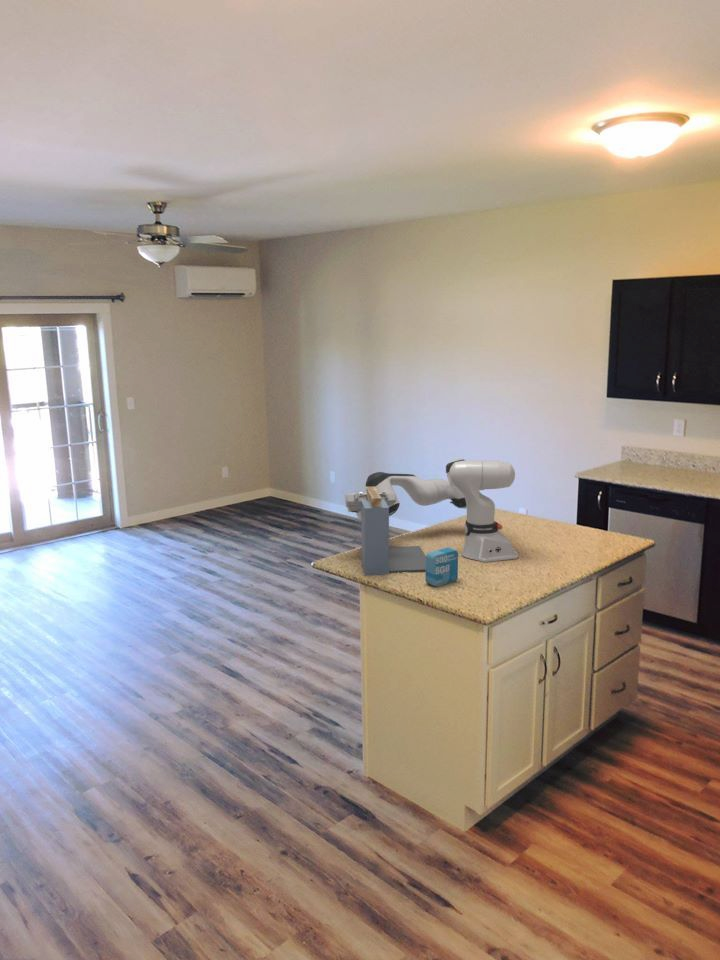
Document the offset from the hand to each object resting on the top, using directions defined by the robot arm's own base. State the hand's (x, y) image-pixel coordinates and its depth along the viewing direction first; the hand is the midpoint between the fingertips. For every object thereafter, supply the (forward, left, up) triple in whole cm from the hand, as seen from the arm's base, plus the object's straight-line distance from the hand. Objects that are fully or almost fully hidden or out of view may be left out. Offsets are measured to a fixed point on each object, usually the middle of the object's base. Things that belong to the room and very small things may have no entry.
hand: (372, 493), depth 289 cm
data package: (-22, +24, -28) cm, 44 cm away
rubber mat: (-13, -3, -28) cm, 31 cm away
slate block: (0, +8, -28) cm, 29 cm away
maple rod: (0, +3, -2) cm, 4 cm away
